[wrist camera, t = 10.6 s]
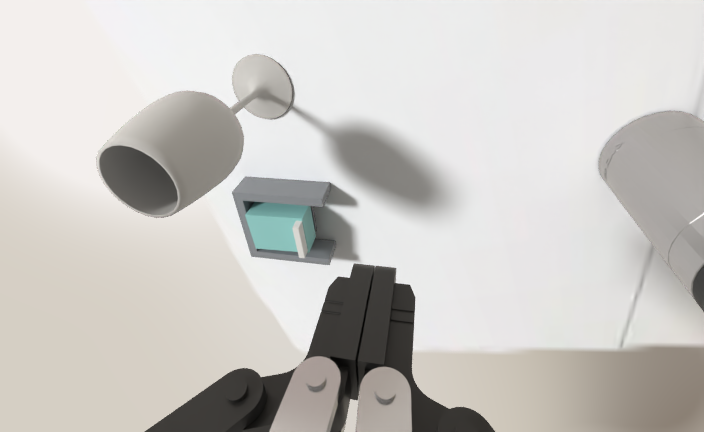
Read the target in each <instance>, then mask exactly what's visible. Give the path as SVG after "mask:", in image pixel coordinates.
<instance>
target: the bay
mask: <svg viewBox="0 0 704 432" xmlns="http://www.w3.org/2000/svg"><path fill="white" fill-rule="evenodd" d="M329 192H330V182H316V181H301V180H286V179H271V178H257V177H245V178H244V179H243V180H242V181H241V182H240V183H239V185H238V186H237V187H236V188H235V189H234V191H233V192H232V194H233V197H234V201H235V204H236V207H237V210H238V214H239V217H240V220H241V224H242V227H243V230H244V234H245V237H246V240H247V243H248V247H249V250H250V253H251V256H252V257H261V258H270V259H279V260H288V261H296V262H305V263H314V264H323V265H330V262H331V259H332V256H333V253H334V250H335V247H336V244H335V241H331V240H321V239H315V240H314V242H313V245H312V247H311V249H310V252H309V253H307V254H306V256H305V258H299V255H298V252H292V251H280V250H268V249H256V247H255V244H254V241H253V238H252V235H251V232H250V229H249V226H248V223H247V220H246V217H245V214H246V213H247V212H248V210H249V209H250V208H251V206H252V205H253V204H254V202H267V203H280V204H292V205H304V206H317V207H323V206H324V203H325V201H326V199H327V197H328V194H329Z"/></svg>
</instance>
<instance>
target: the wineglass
mask: <svg viewBox="0 0 704 432" xmlns="http://www.w3.org/2000/svg"><path fill="white" fill-rule="evenodd" d="M232 85H233V89H234V93H235V95H236V97H237V99H238V100H239V102H237V103H236V104H235V105H233V106H232V107H231V108H229V107H228V106H226V105H225V104H224V103H223V102H222V101H220V100H219V99H217V98H216V97H214V96H211V95H209V94H206V93H202V92H195V91H180V92H175V93H172V94H169V95H167V96H165V97H163V98H161V99H159V100H157V101H155V102H153V103H151V104H150V105H148V106H147V107H146V108H144V109H143V110H142V111H141V112H139V113H138V114H137V115H135V116H134V117H133V118H132V119H131V120H129V121H128V122H127V123H126V124H125V125H124V126H122V127H121V128H120V129H119V130H118V131H117V132H116V133H115V134H114V135H113V136H112V137H111V138H110V139H109V140H108V141H107V142H106V143H105V144H104V145H103V147H102V148H101V149H100V150H99V151H98V154H97V157H96V166H97V169H98V172H99V176H100V177H101V179H102V181H103V183H104V184H105V186H106V187H107V188H108V189H109V191H110V192H111V193H112V194H113V195H114V196H115V197H116V198H117V199H118V200H119V201H121V202H122V203H123V204H125V205H126V206H127V207H129V208H131V209H133V210H134V211H136V212H138V213H141V214H144V215H146V216H151V217H156V218H159V217H161V218H164V217H168V216H171V215H173V214H175V213H177V212H179V211H180V210H182V209H183V208H185V207H187V206H188V205H190V204H191V203H193V202H194V201H196V200H197V199H199V198H200V197H202V196H203V195H205V194H206V193H207V192H209V191H210V190H211V189H213V188H214V187H215V186H217V185H218V184H219V183H221V182H222V181H223V180H224V179H226V178H227V176H228V175H229V174H230V173H231V172H232V171H233V169H234V168H235V166H236V165H237V163H238V162H239V160H240V159H241V155H242V152H243V145H244V136H243V131H242V127H241V125H240V123H239V121H238V119H237V117H236V116H235V114H236V113H237V112H238V111H240V110H241V109H242V108H245V109H246V110H247V111H249V112H250V113H252V114H253V115H255V116H257V117H260V118H265V119H273V118H277V117H279V116H281V115H282V114H284V113H285V112H286V111H287V109H288V108H289V107H290V104H291V101H292V94H293V92H292V85H291V82H290V79H289V77H288V75H287V73H286V72H285V70H284V69H283V68H282V67H281V66H280V65H279V63H277V62H276V61H274V60H273V59H272V58H269V57H267V56H265V55H259V54H254V55H248V56H246V57H244V58H242V59H241V60H240V61H239V62H238V63H237V64H236V66H235V68H234V70H233V75H232Z"/></svg>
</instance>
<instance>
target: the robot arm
mask: <svg viewBox="0 0 704 432" xmlns="http://www.w3.org/2000/svg"><path fill="white" fill-rule="evenodd" d="M599 172H600V175H601V177H602V178H603V180H604V181H605V183H606V184H607V185H608V187H609V188H610V189H611V190H612V192H613V193H614V194H615V196H616V197H617V199H618V200H619V201H620V203H621V204H622V205H623V207H624V208H625V209H626V210H627V212H628V213H629V214H630V216H631V217H632V218H633V220H634V221H635V222H636V224H637V225H638V226H639V227H640V229H641V230H642V231H643V233H644V234H645V235H646V237H647V238H648V239H649V241H650V242H651V243H652V245H653V246H654V247H655V248H656V250H657V251H658V252H659V254H660V255H661V256H662V258H663V259H664V260H665V262H666V263H667V264H668V266H669V267H670V268H671V269H672V271H673V272H674V273H675V274H676V276H677V277H678V278H679V280H680V281H681V282H682V284H683V285H684V286H685V288H686V289H687V290H688V291H689V293H690V294H691V295H692V297H693V298H694V299H695V300H696V302H697V303H698V305H699V306H700V307H701V309H702V310H703V311H704V121H702V120H701V119H699V118H697V117H695V116H693V115H692V114H689V113H685V112H681V111H665V112H658V113H654V114H650V115H647V116H644V117H642V118H639V119H637V120H635V121H633V122H631V123H630V124H628V125H626V126H625V127H623V128H622V129H621V130H619V131H618V132H617V133H616V134H615V135H613V137H612V138H611V139H610V140H609V141H608V142H607V144H606V145H605V147H604V149H603V150H602V152H601V155H600V158H599ZM395 281H396V268H391V267H382V266H376V267H375V266H372V265H363V264H354V265H353V268H352V272H351V276H350V278H345V277H337V279H336V280H335V281H334V282H333V283H332V284H331V285H330V287H329V289H328V292H327V295H326V298H325V302H324V304H323V308H322V312H321V314H320V317H319V320H318V323H317V326H316V330H315V333H314V336H313V339H312V342H311V345H310V349H309V352H308V354H307V356H306V358H305V359H304V361H303V362H302V363H301V364H300V365H299V366H298V367H296V368H295V369H293V370H291V371H289V372H287V373H283V374H278V375H272V376H266V377H260V375H259V374H258V373H257V372H255V371H254V370H252V369H247V368H246V369H245V368H242V369H237V370H234V371H232V372H230V373H228V374H227V375H225V376H224V377H222V378H221V379H219V380H218V381H217V382H215V383H214V384H212V385H211V386H209V387H208V388H207V389H205V390H204V391H202V392H201V393H199V394H198V395H196V396H195V397H194V398H192V399H191V400H189V401H188V402H187V403H185V404H184V405H182V406H181V407H179V408H178V409H176V410H175V411H174V412H172V413H171V414H169V415H168V416H166V417H165V418H164V419H162V420H161V421H159V422H158V423H157V424H155V425H154V426H152V427H151V428H149V429H148V430H146V431H145V432H344V428H345V424H346V418H347V412H348V407H349V402H350V399H353V400H358V396H359V402H358V413H357V423H356V432H495V431H494V430H493V428H492V427H491V426H490V424H489V423H488V422H487V421H486V420H485V419H484V418H483V417H482V416H481V415H480V414H479V413H477V412H476V411H474V410H471V409H469V408H465V407H455V408H451V409H448V408H446V407H444V406H443V405H441V404H439V403H437V402H435V401H433V400H432V399H430V398H428V397H427V396H426V395H425V394H423V393H422V392H421V390H420V389H419V388H418V387H417V385H416V383H415V381H414V379H413V375H412V351H413V332H414V312H415V296H414V293H413V291H412V289H411V287H410V285H406V284H397V283H395Z"/></svg>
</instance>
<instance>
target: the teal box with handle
mask: <svg viewBox="0 0 704 432" xmlns="http://www.w3.org/2000/svg"><path fill="white" fill-rule="evenodd" d="M245 217H246V220H247V223H248V226H249V229H250V232H251V235H252V238H253V241H254V244H255V247H256V249H268V250H280V251H292V252H298V255H299V258H305V256H306V254H307V253H309V252H310V249H311V247H312V245H313V242H314V240H315V237H316V235H315V232H316V231H317V226H316V220H315V215H314V209H313V206H304V205H292V204H280V203H267V202H254V204H253V205H252V206H251V208H250V209H249V210H248V212H247V213H246V214H245Z"/></svg>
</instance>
